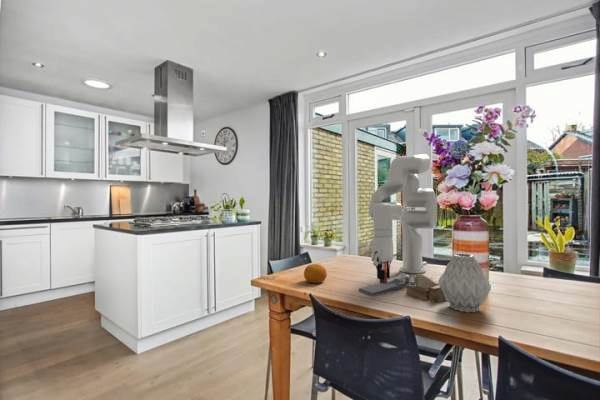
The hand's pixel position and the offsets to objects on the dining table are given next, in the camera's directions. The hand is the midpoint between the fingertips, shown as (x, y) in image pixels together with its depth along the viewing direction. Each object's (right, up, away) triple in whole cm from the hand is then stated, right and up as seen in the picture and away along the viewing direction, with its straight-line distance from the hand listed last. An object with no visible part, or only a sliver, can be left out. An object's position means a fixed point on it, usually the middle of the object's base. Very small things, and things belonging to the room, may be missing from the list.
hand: (383, 278), depth 129 cm
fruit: (-27, -6, +17) cm, 32 cm away
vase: (+23, -6, -20) cm, 31 cm away
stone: (+16, -6, -3) cm, 17 cm away
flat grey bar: (+3, -6, +6) cm, 9 cm away
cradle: (+17, -6, -5) cm, 19 cm away
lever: (+7, -3, +6) cm, 10 cm away
